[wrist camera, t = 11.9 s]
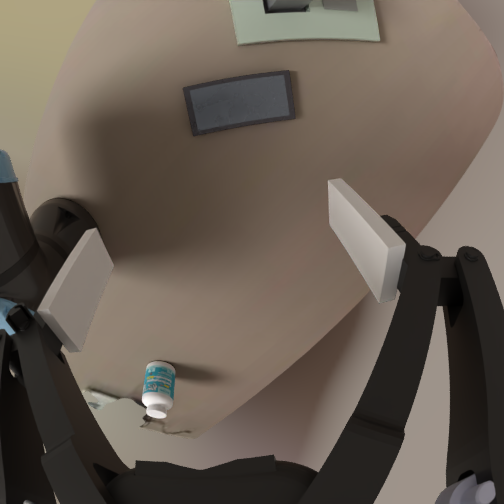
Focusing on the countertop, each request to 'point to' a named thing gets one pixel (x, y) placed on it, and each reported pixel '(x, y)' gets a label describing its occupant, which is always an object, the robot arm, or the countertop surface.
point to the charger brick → (286, 4)
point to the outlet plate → (305, 21)
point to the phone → (239, 101)
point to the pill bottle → (158, 388)
